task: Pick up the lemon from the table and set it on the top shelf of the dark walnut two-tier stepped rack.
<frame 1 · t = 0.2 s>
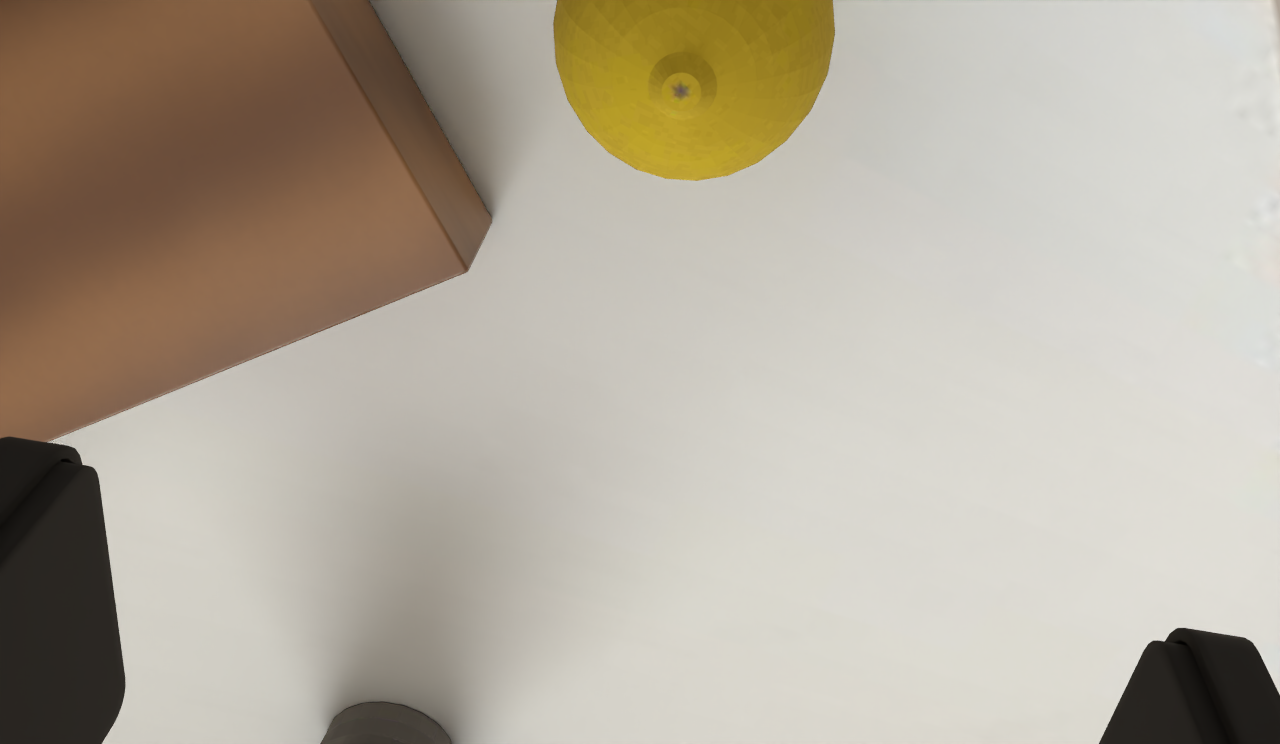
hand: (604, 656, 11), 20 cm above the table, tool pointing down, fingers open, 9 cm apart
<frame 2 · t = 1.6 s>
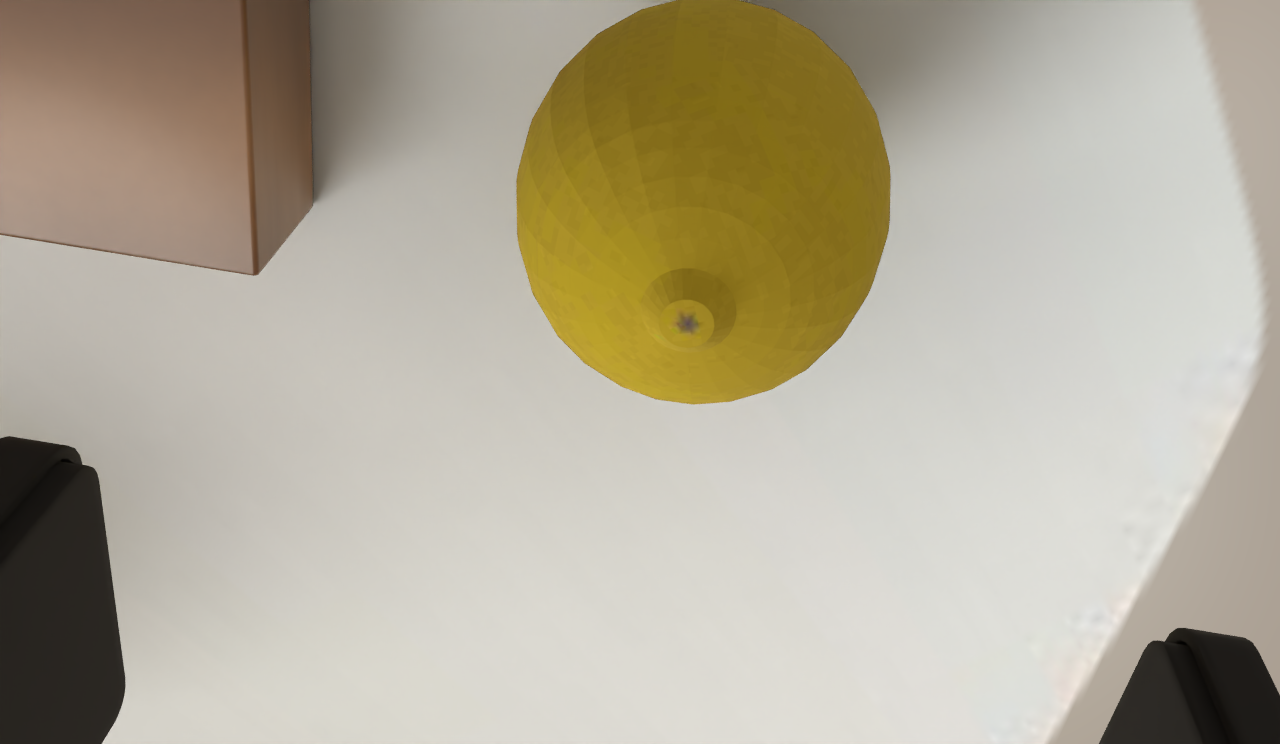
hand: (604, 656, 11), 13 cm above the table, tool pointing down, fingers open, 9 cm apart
lemon: (714, 101, 22), on the table
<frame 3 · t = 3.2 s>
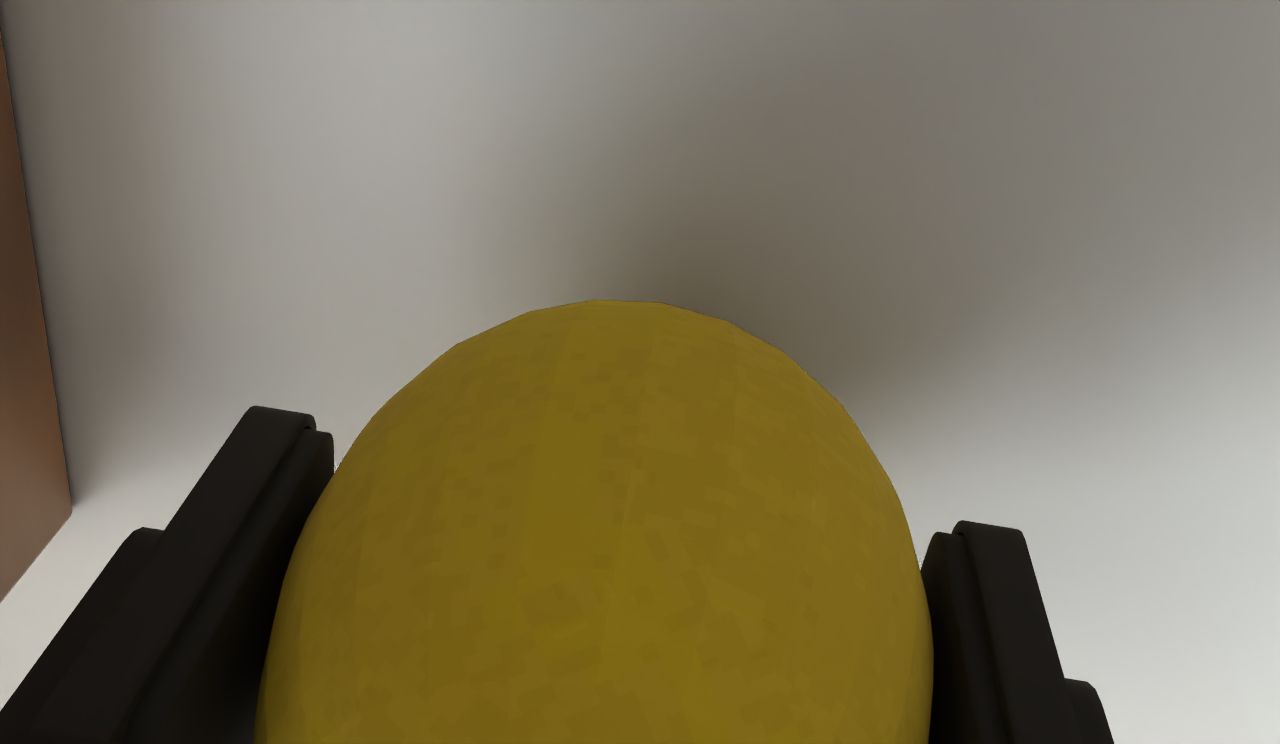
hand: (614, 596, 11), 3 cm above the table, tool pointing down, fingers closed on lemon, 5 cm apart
lemon: (648, 387, 14), on the table, touching gripper
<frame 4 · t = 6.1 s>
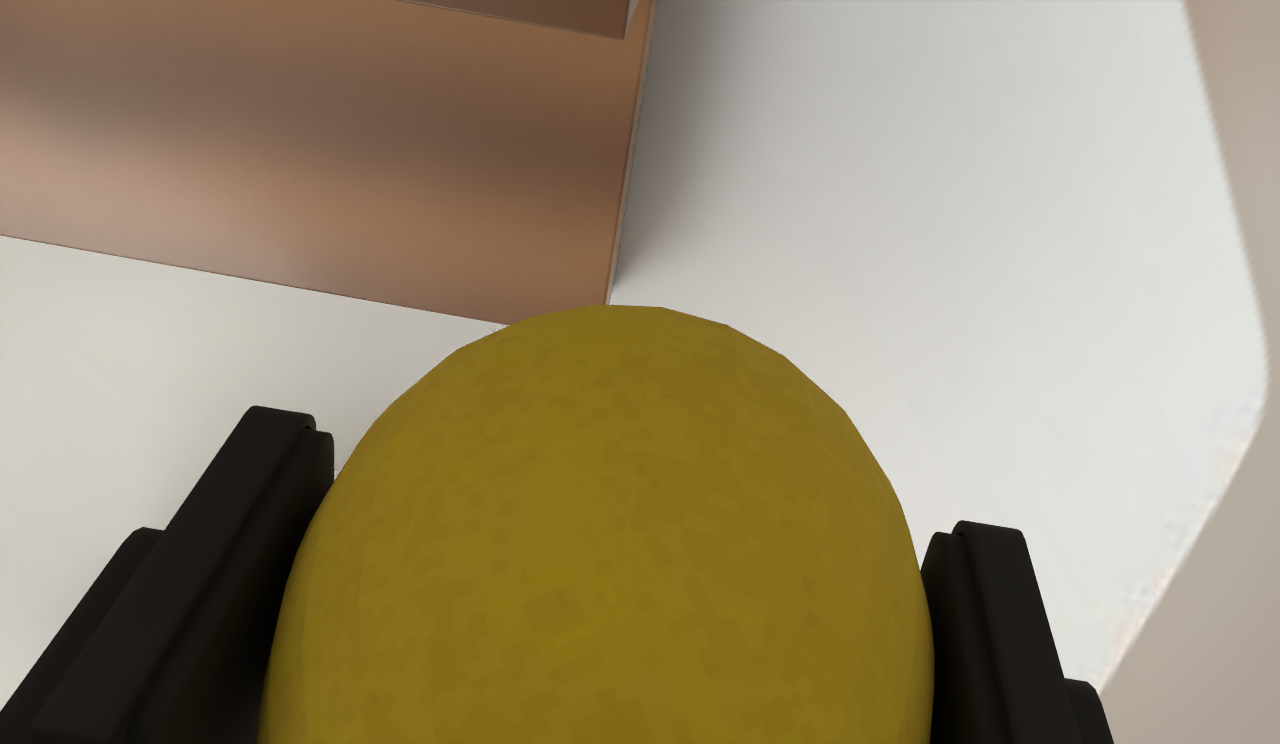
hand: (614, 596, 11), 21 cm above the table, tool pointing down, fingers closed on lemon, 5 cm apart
lemon: (649, 391, 14), point 18 cm above the table, touching gripper
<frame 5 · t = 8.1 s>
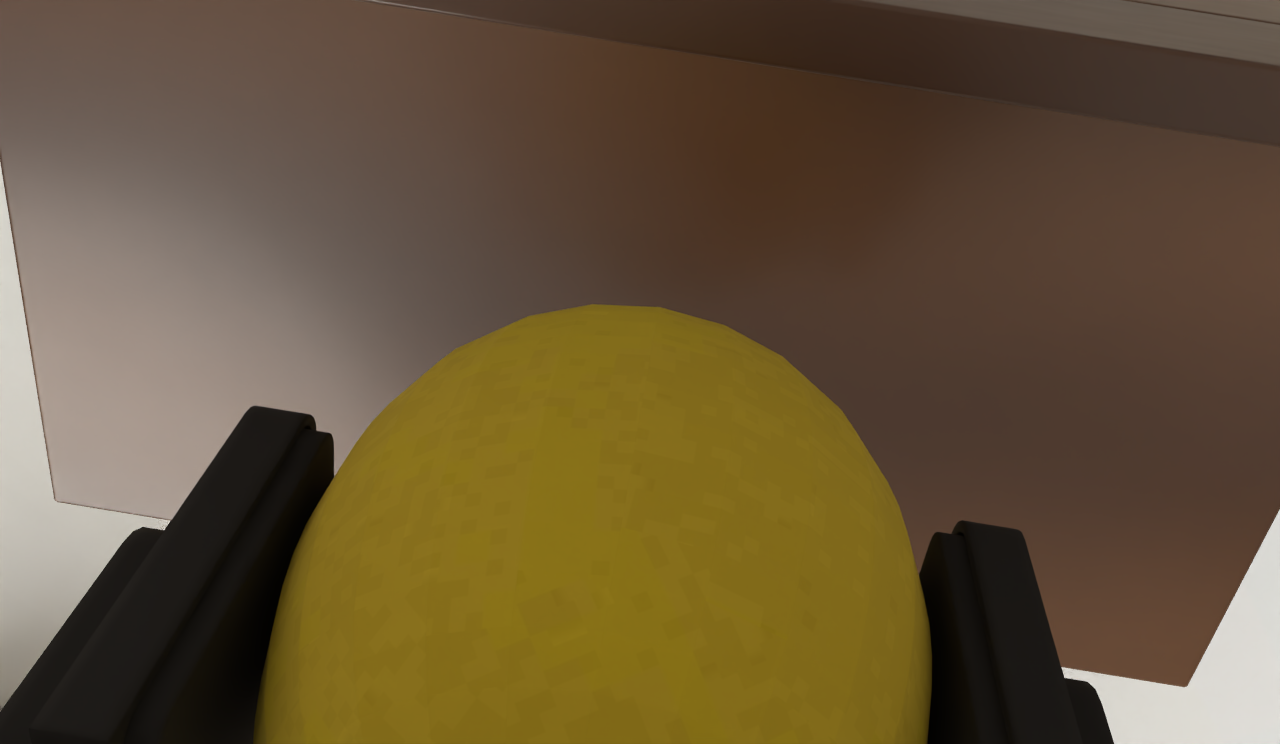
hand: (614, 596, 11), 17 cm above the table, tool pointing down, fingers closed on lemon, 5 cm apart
lemon: (647, 391, 14), point 13 cm above the table, touching gripper
rack: (668, 279, 28), on the table
when the fingers open (14 cm above the table, at t = 9.2 s): lemon stays where it is, resting on rack.
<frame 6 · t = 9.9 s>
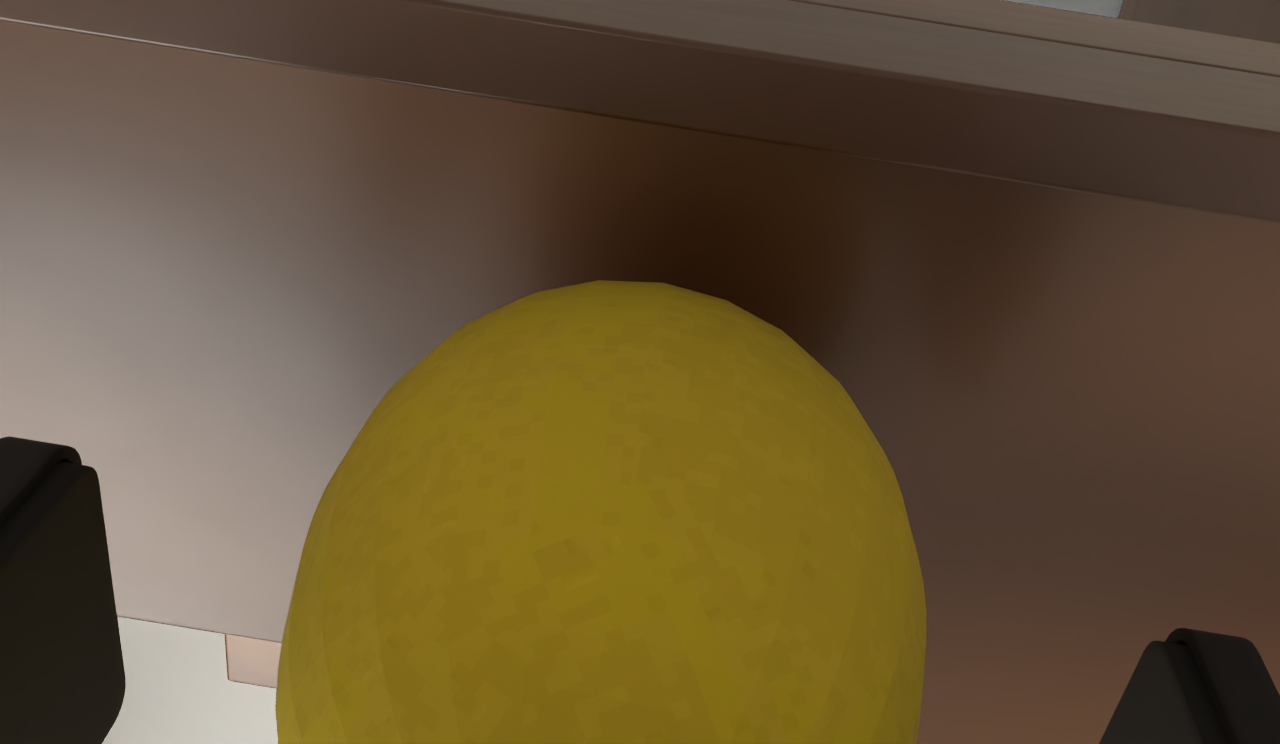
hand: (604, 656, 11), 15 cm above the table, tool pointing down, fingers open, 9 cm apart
lemon: (650, 371, 14), point 11 cm above the table, touching rack
rack: (657, 326, 26), on the table
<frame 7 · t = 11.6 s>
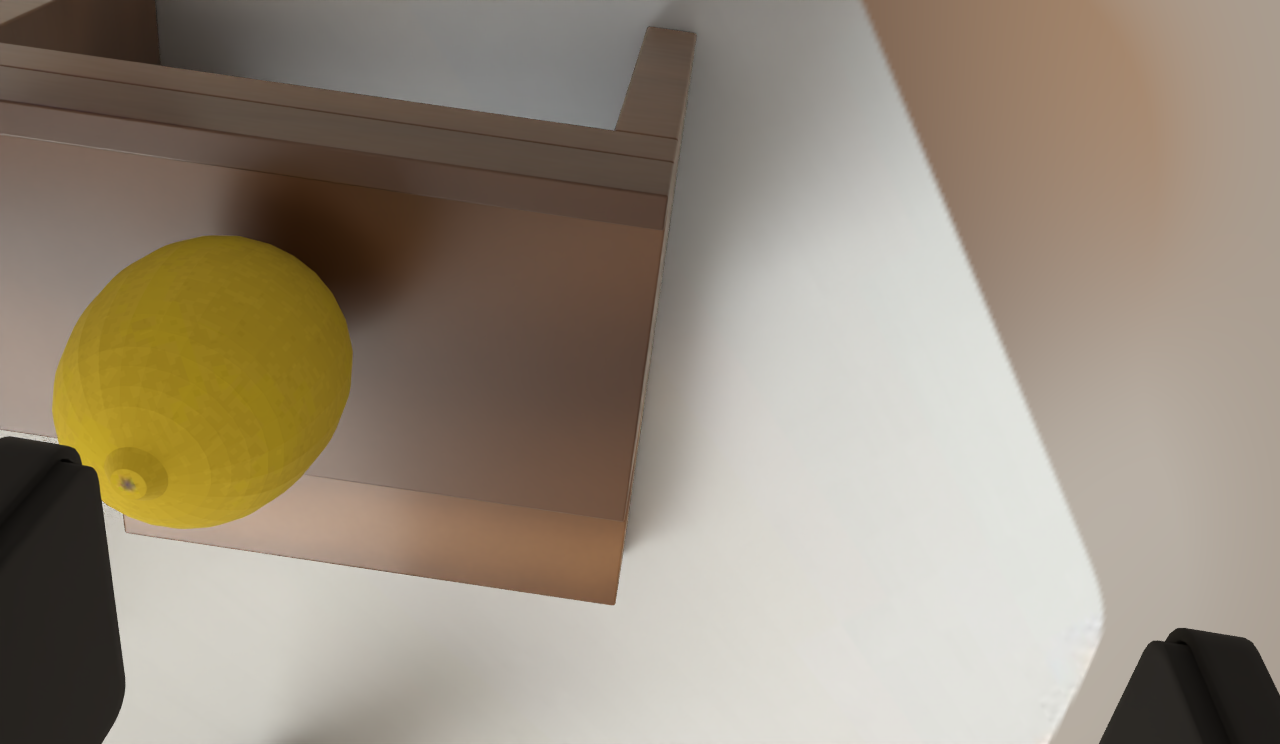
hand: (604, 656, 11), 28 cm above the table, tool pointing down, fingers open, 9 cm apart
lemon: (280, 287, 29), point 11 cm above the table, touching rack
rack: (394, 287, 41), on the table
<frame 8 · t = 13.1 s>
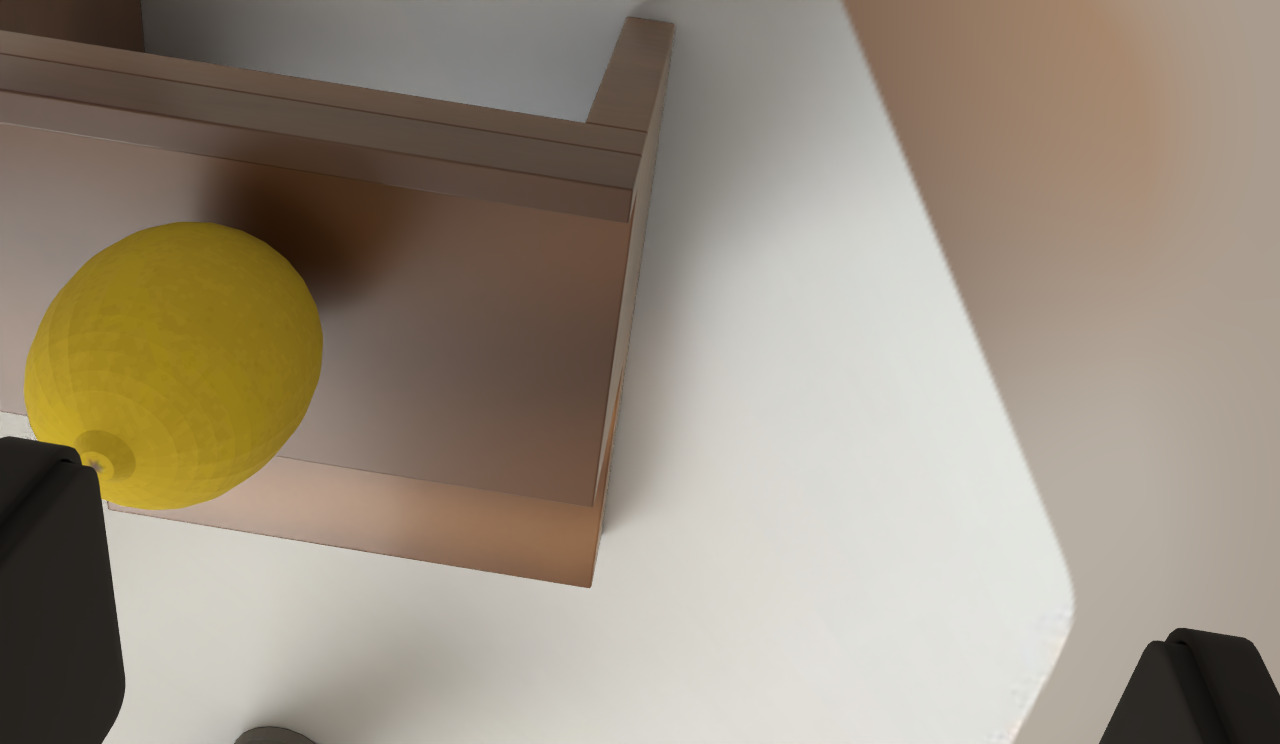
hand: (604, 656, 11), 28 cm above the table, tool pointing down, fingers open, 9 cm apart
lemon: (255, 272, 29), point 11 cm above the table, touching rack
rack: (375, 271, 41), on the table
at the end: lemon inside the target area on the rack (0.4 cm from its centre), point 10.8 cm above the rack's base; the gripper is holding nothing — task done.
